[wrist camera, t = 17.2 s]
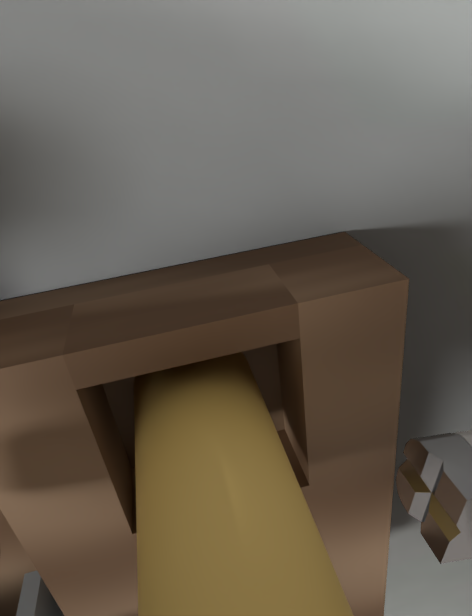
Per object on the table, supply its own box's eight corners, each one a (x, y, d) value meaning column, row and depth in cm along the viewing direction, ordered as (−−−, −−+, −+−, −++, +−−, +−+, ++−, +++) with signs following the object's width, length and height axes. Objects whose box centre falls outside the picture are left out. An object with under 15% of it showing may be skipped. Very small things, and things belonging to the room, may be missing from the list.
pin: (250, 420, 12) (370, 760, 6) (140, 438, 12) (154, 828, 6) (251, 327, 11) (408, 649, 5) (126, 342, 10) (125, 726, 4)
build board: (345, 539, 18) (383, 620, 15) (120, 606, 16) (118, 705, 14) (344, 231, 11) (409, 279, 9) (-23, 305, 10) (-75, 385, 8)
